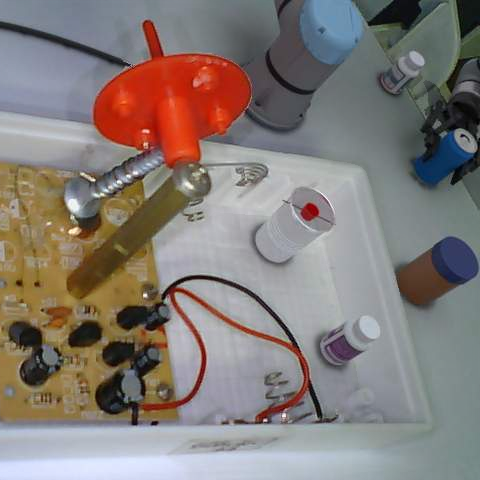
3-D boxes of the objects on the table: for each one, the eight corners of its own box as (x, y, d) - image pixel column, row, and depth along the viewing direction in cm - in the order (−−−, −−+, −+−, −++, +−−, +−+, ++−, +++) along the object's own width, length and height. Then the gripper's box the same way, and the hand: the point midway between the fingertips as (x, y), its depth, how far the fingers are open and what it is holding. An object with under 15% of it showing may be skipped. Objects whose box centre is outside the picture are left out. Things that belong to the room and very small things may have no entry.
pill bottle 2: (398, 80, 174) (426, 54, 167) (400, 97, 171) (429, 71, 164) (379, 71, 173) (406, 44, 166) (381, 89, 170) (408, 62, 163)
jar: (402, 303, 140) (446, 276, 132) (392, 264, 144) (434, 235, 136) (436, 308, 144) (481, 282, 135) (425, 269, 147) (468, 241, 139)
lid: (438, 282, 133) (448, 276, 131) (426, 239, 137) (435, 233, 135) (474, 287, 136) (484, 281, 135) (461, 245, 141) (470, 239, 139)
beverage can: (437, 171, 164) (479, 137, 155) (434, 192, 160) (478, 160, 151) (412, 155, 163) (453, 121, 154) (409, 176, 159) (451, 142, 150)
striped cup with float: (299, 235, 137) (340, 200, 128) (295, 275, 132) (338, 242, 123) (250, 213, 135) (288, 176, 125) (244, 253, 130) (284, 217, 120)
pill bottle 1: (349, 367, 128) (387, 345, 120) (322, 364, 125) (359, 342, 118) (342, 336, 130) (380, 313, 123) (316, 333, 128) (352, 309, 121)
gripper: (487, 145, 171) (466, 210, 156) (418, 89, 170) (390, 149, 155) (514, 125, 165) (494, 190, 151) (443, 67, 164) (416, 127, 149)
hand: (442, 169), depth 153 cm, fingers closed on beverage can, 6 cm apart
